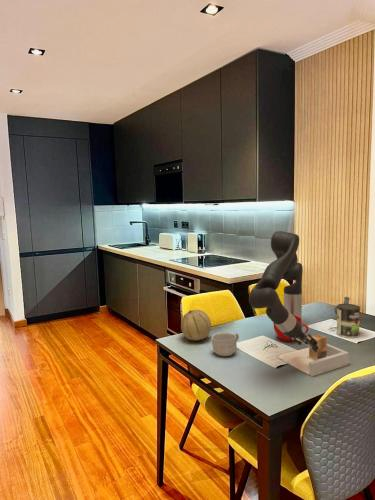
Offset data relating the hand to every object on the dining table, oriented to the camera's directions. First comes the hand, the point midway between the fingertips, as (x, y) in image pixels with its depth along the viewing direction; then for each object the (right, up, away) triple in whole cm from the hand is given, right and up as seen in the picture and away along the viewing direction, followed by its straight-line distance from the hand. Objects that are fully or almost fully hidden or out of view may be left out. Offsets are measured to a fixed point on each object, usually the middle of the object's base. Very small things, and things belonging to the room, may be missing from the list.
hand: (308, 346), depth 146 cm
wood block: (+5, -6, +4) cm, 8 cm away
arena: (+2, -7, +2) cm, 7 cm away
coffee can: (+29, -3, +30) cm, 42 cm away
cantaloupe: (-45, -5, +30) cm, 54 cm away
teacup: (-31, -7, +13) cm, 35 cm away
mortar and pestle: (+37, 0, +52) cm, 64 cm away
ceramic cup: (0, -4, +26) cm, 26 cm away
